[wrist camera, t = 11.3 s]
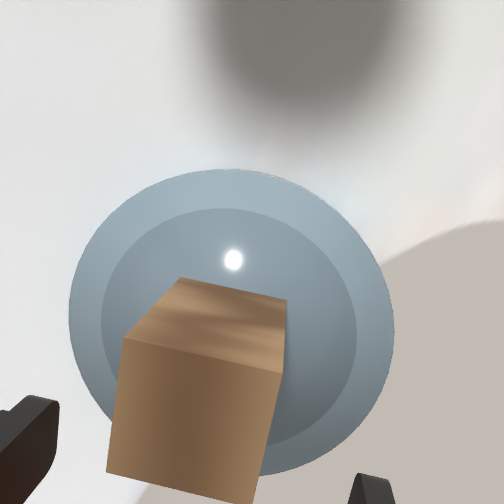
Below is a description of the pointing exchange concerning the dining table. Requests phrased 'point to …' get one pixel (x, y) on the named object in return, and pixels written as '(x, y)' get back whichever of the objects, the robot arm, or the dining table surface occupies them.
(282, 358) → the block
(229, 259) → the dish
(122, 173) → the dining table surface
